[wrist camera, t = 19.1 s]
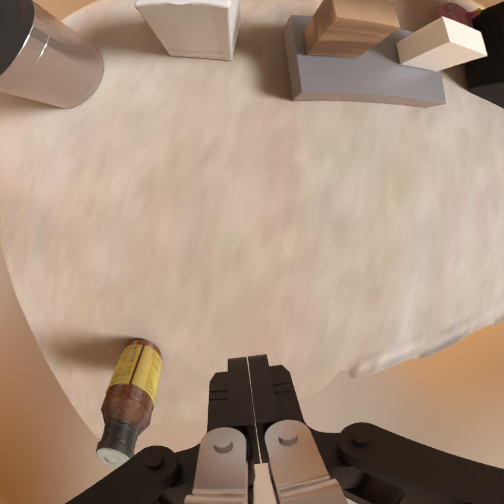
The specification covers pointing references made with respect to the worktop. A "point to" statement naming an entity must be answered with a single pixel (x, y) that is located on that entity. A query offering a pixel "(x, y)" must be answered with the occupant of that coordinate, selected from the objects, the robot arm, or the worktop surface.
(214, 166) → the worktop surface
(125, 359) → the sauce bottle
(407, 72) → the keypad base
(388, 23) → the walnut key
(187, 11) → the skincare box
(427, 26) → the wooden block
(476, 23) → the air purifier
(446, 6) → the vegetable
